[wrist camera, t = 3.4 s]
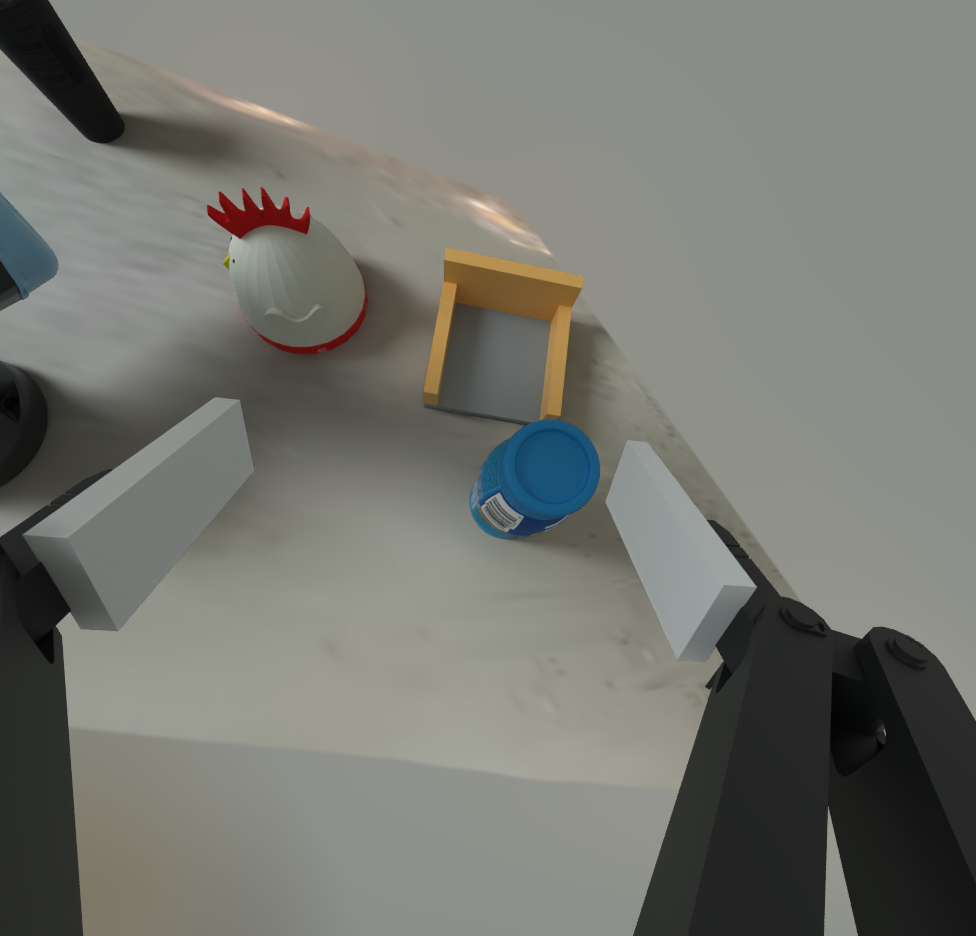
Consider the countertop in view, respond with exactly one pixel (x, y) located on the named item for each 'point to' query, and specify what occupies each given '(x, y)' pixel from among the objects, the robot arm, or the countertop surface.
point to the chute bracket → (500, 339)
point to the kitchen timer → (291, 276)
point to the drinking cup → (57, 67)
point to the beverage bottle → (535, 480)
